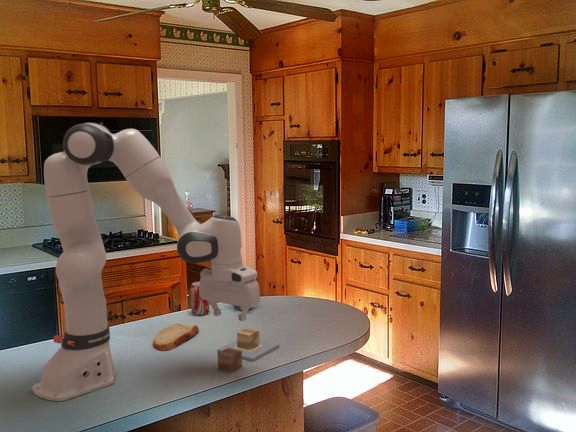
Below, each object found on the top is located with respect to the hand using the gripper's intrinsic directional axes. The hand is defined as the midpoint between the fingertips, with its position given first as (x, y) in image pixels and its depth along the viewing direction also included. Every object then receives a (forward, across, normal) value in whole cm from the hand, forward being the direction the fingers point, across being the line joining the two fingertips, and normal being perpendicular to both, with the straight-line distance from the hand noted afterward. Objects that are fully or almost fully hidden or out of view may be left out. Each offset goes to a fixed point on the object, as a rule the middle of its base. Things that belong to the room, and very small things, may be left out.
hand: (229, 317), depth 162 cm
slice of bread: (+16, -31, +9) cm, 36 cm away
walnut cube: (+15, 0, 0) cm, 15 cm away
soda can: (+15, -44, +34) cm, 57 cm away
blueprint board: (+15, -4, +14) cm, 21 cm away
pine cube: (+14, -4, +14) cm, 20 cm away
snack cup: (+16, -34, +48) cm, 60 cm away
